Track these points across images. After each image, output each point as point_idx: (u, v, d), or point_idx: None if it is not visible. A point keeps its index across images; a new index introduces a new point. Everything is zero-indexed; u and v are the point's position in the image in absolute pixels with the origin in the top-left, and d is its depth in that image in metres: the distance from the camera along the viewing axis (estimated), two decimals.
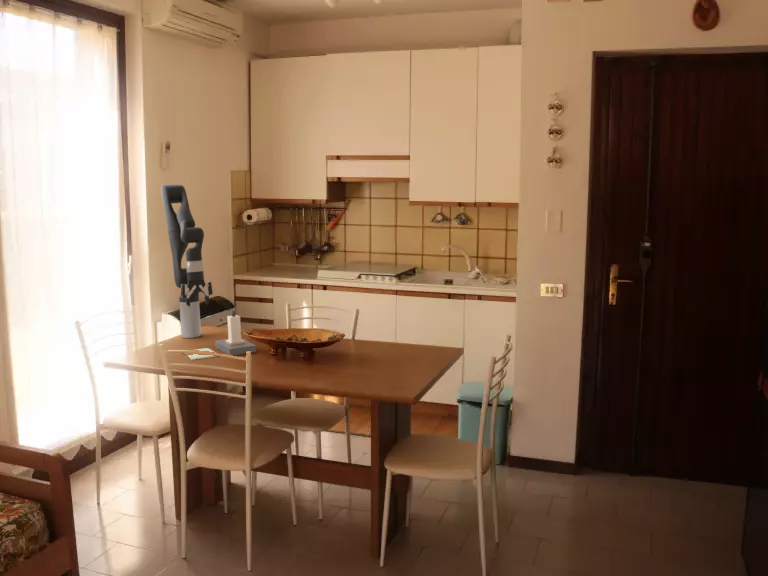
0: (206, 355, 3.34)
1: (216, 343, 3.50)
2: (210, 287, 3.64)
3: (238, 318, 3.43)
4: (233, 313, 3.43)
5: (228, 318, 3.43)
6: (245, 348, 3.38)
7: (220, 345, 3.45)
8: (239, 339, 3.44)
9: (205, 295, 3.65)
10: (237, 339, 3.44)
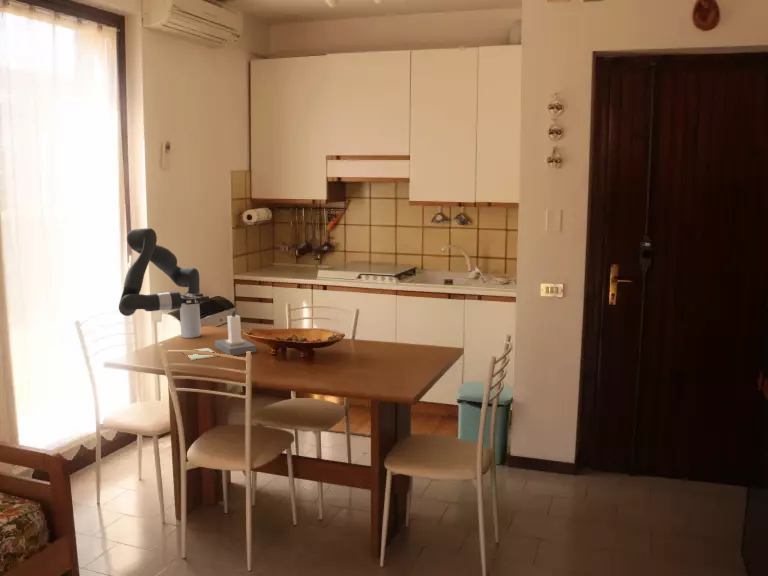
0: (206, 355, 3.34)
1: (216, 343, 3.50)
2: (192, 303, 3.27)
3: (238, 318, 3.43)
4: (233, 313, 3.43)
5: (228, 318, 3.43)
6: (245, 348, 3.38)
7: (220, 345, 3.45)
8: (239, 339, 3.44)
9: None
10: (237, 339, 3.44)
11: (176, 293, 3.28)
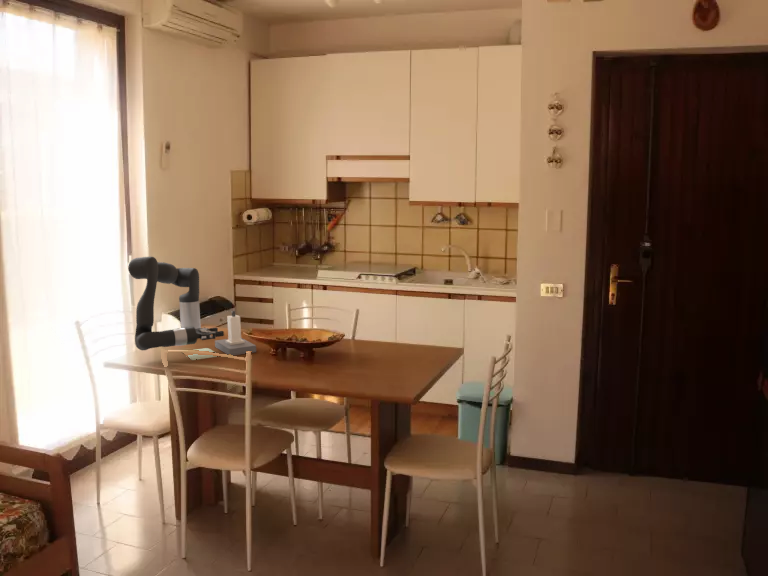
0: (206, 355, 3.34)
1: (216, 343, 3.50)
2: None
3: (238, 318, 3.43)
4: (233, 313, 3.43)
5: (228, 318, 3.43)
6: (245, 348, 3.38)
7: (220, 345, 3.45)
8: (239, 339, 3.44)
9: None
10: (237, 339, 3.44)
11: (191, 328, 3.33)
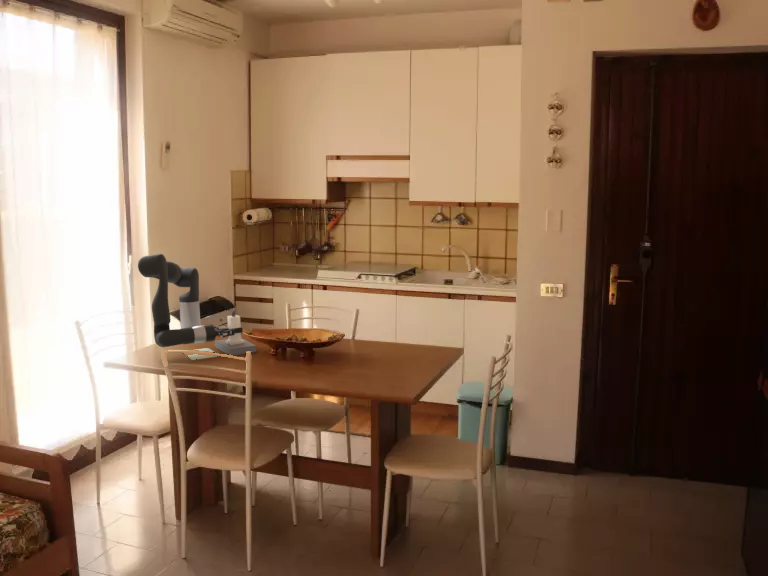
0: (206, 355, 3.34)
1: (216, 343, 3.50)
2: None
3: (238, 318, 3.43)
4: (233, 313, 3.43)
5: (228, 318, 3.43)
6: (245, 348, 3.38)
7: (220, 345, 3.45)
8: (239, 339, 3.44)
9: None
10: (237, 339, 3.44)
11: (210, 326, 3.37)
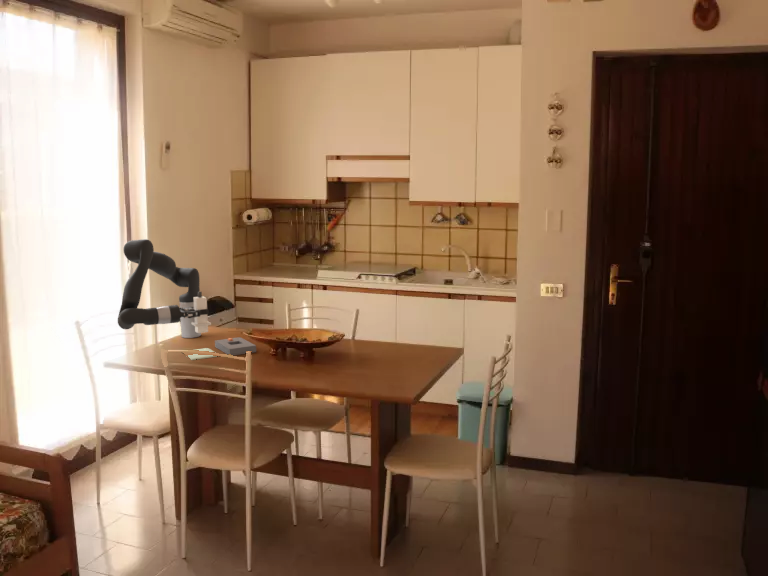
0: (206, 355, 3.34)
1: (216, 343, 3.50)
2: (193, 317, 3.29)
3: (204, 299, 3.34)
4: (199, 294, 3.34)
5: (194, 299, 3.34)
6: (245, 348, 3.38)
7: (220, 345, 3.45)
8: (205, 321, 3.35)
9: None
10: (203, 321, 3.35)
11: (175, 307, 3.28)
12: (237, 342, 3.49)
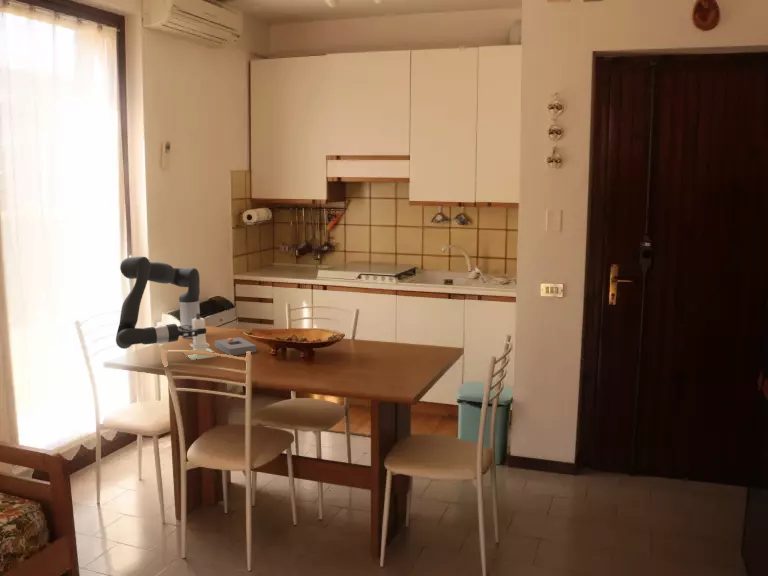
0: (206, 355, 3.34)
1: (216, 343, 3.50)
2: None
3: (203, 321, 3.35)
4: (198, 316, 3.35)
5: (192, 321, 3.35)
6: (245, 348, 3.38)
7: (220, 345, 3.45)
8: (204, 342, 3.36)
9: None
10: (202, 342, 3.36)
11: (173, 326, 3.29)
12: (237, 342, 3.49)
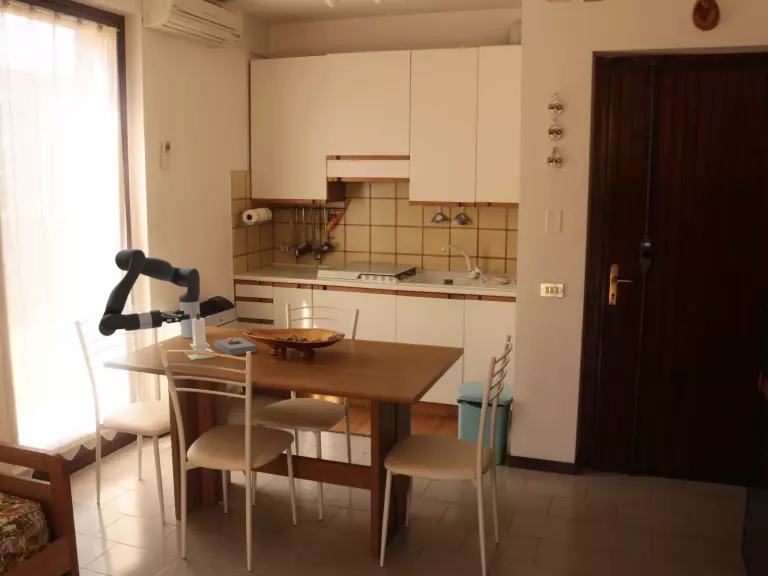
0: (206, 355, 3.34)
1: (216, 343, 3.50)
2: None
3: (203, 321, 3.35)
4: (197, 316, 3.35)
5: (192, 321, 3.35)
6: (245, 348, 3.38)
7: (220, 345, 3.45)
8: (204, 342, 3.36)
9: None
10: (202, 342, 3.36)
11: (156, 312, 3.25)
12: (237, 342, 3.49)
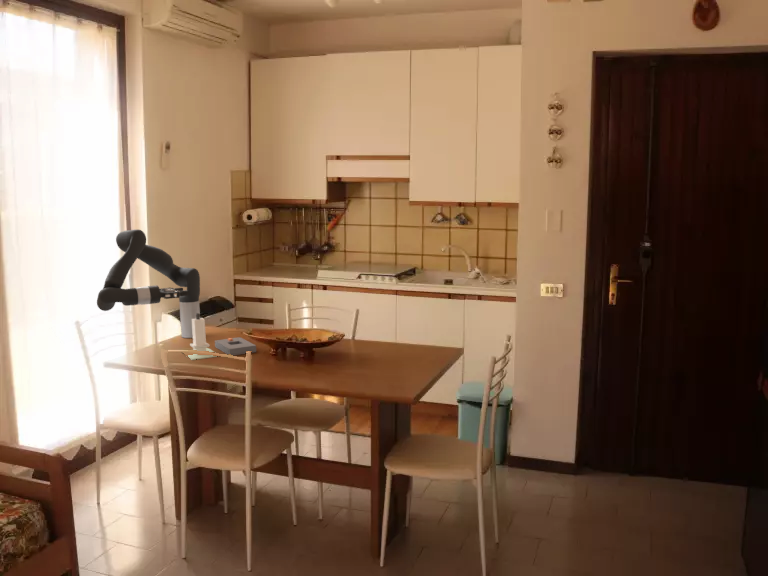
0: (206, 355, 3.34)
1: (216, 343, 3.50)
2: None
3: (203, 321, 3.35)
4: (197, 316, 3.35)
5: (192, 321, 3.35)
6: (245, 348, 3.38)
7: (220, 345, 3.45)
8: (204, 342, 3.36)
9: None
10: (202, 342, 3.36)
11: (155, 287, 3.25)
12: (237, 342, 3.49)
